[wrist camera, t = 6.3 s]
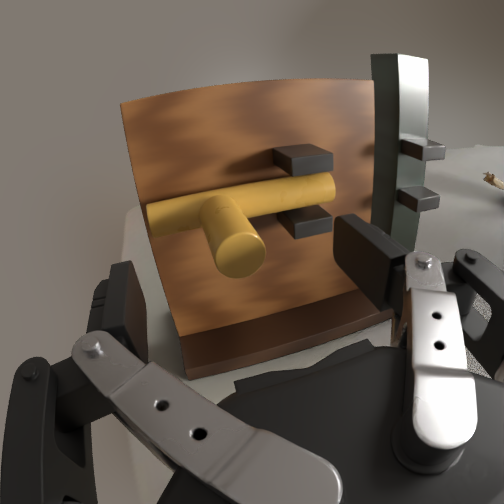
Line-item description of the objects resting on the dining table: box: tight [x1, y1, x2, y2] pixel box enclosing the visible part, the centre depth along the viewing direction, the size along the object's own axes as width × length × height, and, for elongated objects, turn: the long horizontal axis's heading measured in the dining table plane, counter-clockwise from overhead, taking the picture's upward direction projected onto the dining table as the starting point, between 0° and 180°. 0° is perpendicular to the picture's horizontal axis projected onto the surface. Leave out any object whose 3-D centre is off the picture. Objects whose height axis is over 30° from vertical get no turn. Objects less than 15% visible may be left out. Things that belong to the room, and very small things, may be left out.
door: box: [120, 53, 446, 380], centre depth 20 cm, size 20×8×19 cm, turn 106°
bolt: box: [146, 172, 335, 279], centre depth 15 cm, size 10×6×2 cm, turn 106°
